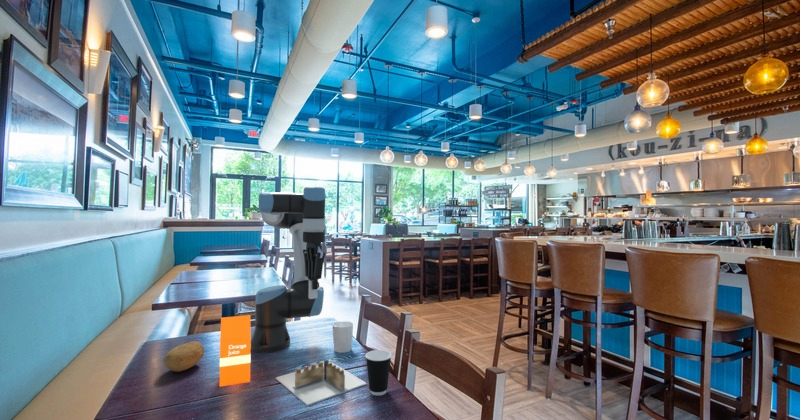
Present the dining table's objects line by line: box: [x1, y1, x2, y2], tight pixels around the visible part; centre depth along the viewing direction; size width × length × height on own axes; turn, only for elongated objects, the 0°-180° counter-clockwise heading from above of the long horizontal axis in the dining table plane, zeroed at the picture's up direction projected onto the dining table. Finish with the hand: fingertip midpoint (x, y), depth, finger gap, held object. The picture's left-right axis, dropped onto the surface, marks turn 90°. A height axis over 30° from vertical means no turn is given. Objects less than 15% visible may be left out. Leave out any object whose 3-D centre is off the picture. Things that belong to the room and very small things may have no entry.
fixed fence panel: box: [323, 359, 345, 390], centre depth 114 cm, size 11×1×6 cm, turn 41°
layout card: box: [275, 361, 367, 407], centre depth 116 cm, size 22×20×1 cm
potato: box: [163, 340, 205, 373], centre depth 124 cm, size 10×14×8 cm
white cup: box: [332, 320, 354, 354], centre depth 143 cm, size 8×8×10 cm
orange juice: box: [219, 314, 252, 387], centre depth 117 cm, size 8×9×20 cm
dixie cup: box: [364, 349, 393, 396], centre depth 110 cm, size 8×8×11 cm
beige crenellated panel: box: [295, 361, 324, 387], centre depth 114 cm, size 9×1×5 cm, turn 130°
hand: (313, 298), depth 129 cm, fingers closed
